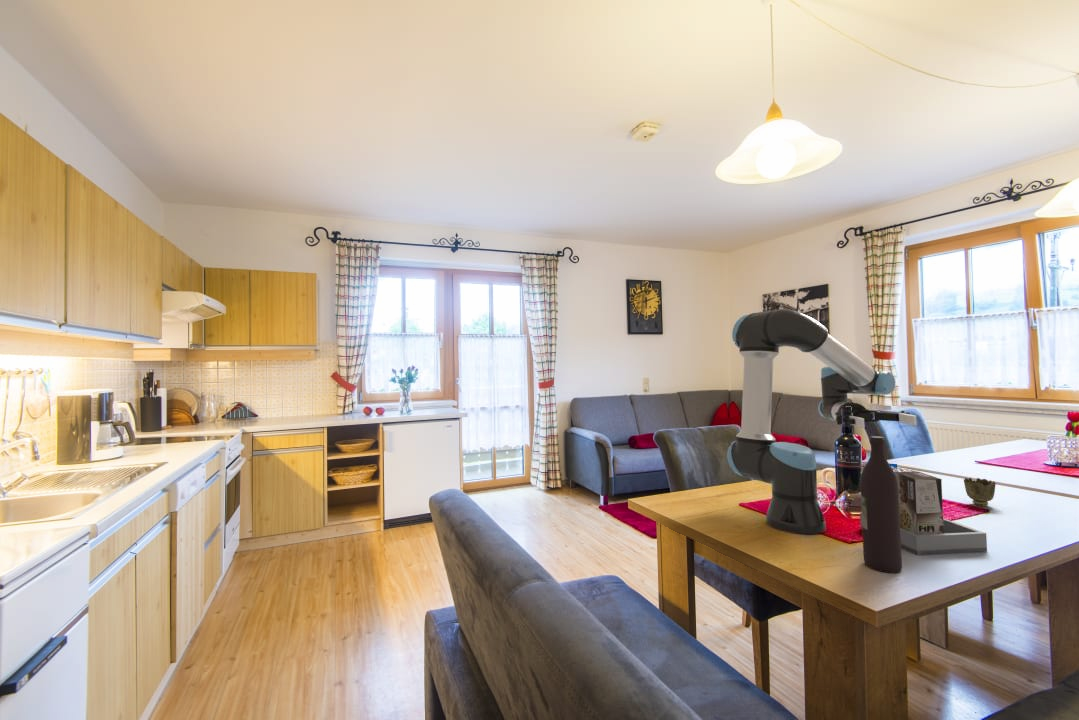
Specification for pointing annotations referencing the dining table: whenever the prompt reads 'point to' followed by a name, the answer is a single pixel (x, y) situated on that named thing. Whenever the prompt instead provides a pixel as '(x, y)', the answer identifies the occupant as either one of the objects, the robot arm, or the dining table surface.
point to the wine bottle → (880, 512)
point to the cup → (980, 490)
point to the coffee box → (920, 503)
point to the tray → (944, 540)
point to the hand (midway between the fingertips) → (888, 421)
